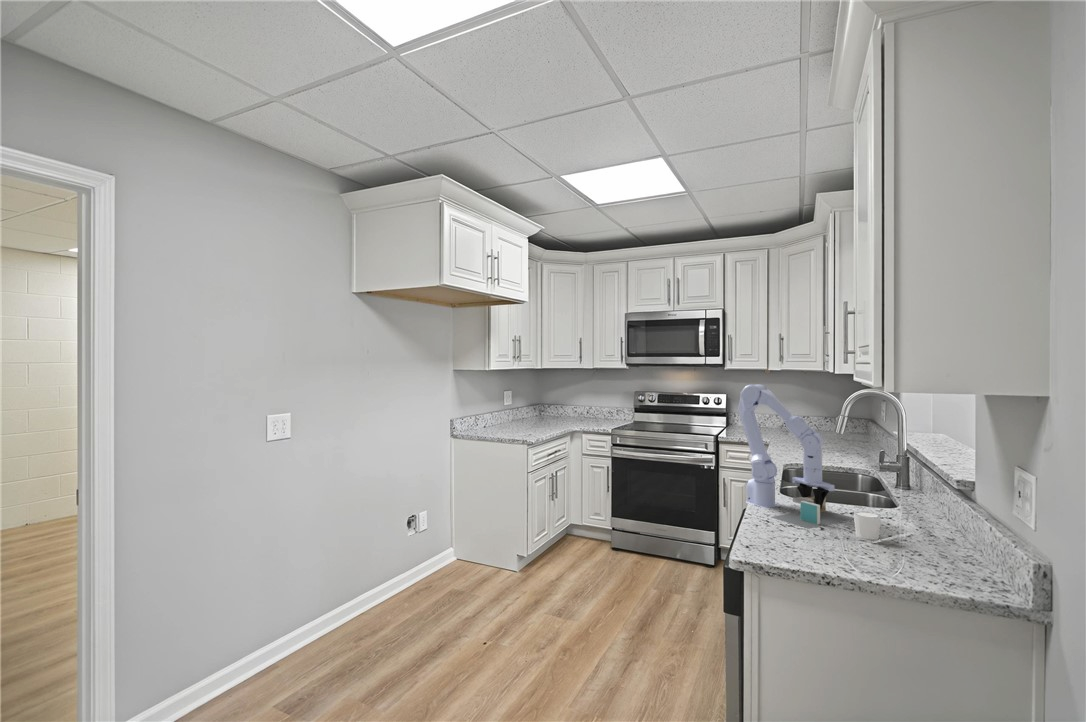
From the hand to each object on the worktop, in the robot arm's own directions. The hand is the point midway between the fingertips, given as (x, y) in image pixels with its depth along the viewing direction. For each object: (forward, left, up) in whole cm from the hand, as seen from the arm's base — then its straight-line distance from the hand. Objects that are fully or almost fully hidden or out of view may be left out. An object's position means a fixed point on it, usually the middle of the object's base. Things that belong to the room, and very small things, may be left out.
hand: (812, 508), depth 179 cm
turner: (0, -1, -1) cm, 2 cm away
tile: (+7, -11, -1) cm, 13 cm away
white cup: (+24, -9, -2) cm, 26 cm away
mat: (+5, -6, -2) cm, 8 cm away
